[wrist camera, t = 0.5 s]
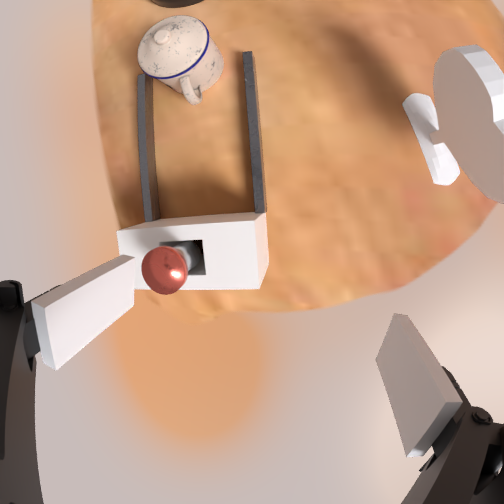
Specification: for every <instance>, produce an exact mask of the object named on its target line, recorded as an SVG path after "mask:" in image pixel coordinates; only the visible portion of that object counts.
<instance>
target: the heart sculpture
mask: <svg viewBox="0 0 504 504" xmlns="http://www.w3.org/2000/svg"><path fill="white" fill-rule="evenodd" d="M433 89H434V99H435V107H436V109H435V107H434V105H433V102H432V100H431V98H430V96H427V95H424V94H419V93H413V94H411V95H410V96H408V97H407V98H406V100H405V101H404V102H403V104H402V106H403V108H404V110H405V112H406V114H407V116H408V118H409V120H410V123H411V125H412V127H413V129H414V132H415V134H416V137H417V139H418V141H419V144H420V146H421V149H422V151H423V154H424V156H425V159H426V162H427V164H428V167H429V170H430V173H431V176H432V179H433V182H434V183H435V184H439V185H450V184H451V183H453V182H454V181H455V179H456V178H457V177H458V175H459V174H460V170H459V167H458V164H459V166H460V167H461V168H462V170H463V171H464V172H465V174H466V175H467V176H468V178H469V179H470V181H471V182H472V183H473V184H474V185H475V186H476V187H477V188H478V189H479V190H480V191H481V192H482V193H483V194H484V195H485V196H486V197H487V198H489V199H492V200H494V201H497V202H499V203H501V204H504V74H503V73H502V71H501V69H500V68H499V66H498V65H497V64H496V62H495V61H494V60H493V59H492V57H491V56H490V55H489V54H488V53H487V52H486V51H485V50H484V49H482V48H481V47H479V46H478V45H469V46H462V47H455V48H451V49H449V50H447V51H444V52H443V53H442V54H441V56H440V57H439V59H438V60H437V62H436V63H435V68H434V78H433ZM456 161H457V162H456ZM457 163H458V164H457Z"/></svg>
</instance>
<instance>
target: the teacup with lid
mask: <svg viewBox="0 0 504 504" xmlns="http://www.w3.org/2000/svg"><path fill="white" fill-rule="evenodd" d="M138 62H139V65H140V67H141V69H142V70H143V71H144V72H145V73H146V74H147V75H149V76H150V77H153V78H156V79H158V80H160V81H161V82H163V83H164V84H166V85H167V86H169V87H170V88H172V89H173V90H175V91H176V92H179V93H181V94H184V96H185V98H186V100H187V101H188V102H189V103H190V104H192V105H196V104H199V103H200V102H201V101H202V92H203V91H205V90H207V89H209V88H210V87H211V86H213V85H214V84H215V83H216V82H217V80H218V79H219V78H220V76H221V74H222V71H223V67H224V59H223V56H222V54H221V52H220V50H219V49H218V47H217V46H216V44H215V43H214V41H213V40H212V38H211V37H210V35H209V32H208V30H207V28H206V26H205V25H204V24H203V23H202V22H201V21H200V20H198V19H196V18H194V17H191V16H185V15H178V16H172V17H169V18H166V19H164V20H162V21H160V22H158V23H157V24H155V25H154V26H153V27H151V28H150V29H149V30H148V31H147V33H146V34H145V35H144V37H143V38H142V40H141V42H140V44H139V48H138Z"/></svg>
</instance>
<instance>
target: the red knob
mask: <svg viewBox="0 0 504 504" xmlns="http://www.w3.org/2000/svg"><path fill="white" fill-rule="evenodd" d="M200 259H201V251H200V248H199V247H198V245H197V244H195V243H194V242H191V241H184V242H182V243H180V244H178V245H176V246H174V247H170V246H159V247H157V248H155V249H152V250H151V251H149V252H148V253H147V254H146V255H145V256H144V258H143V261H142V265H141V271H142V276H143V278H144V281H145V282H146V284H147V285H148V286H149V287H150V288H151V289H152V290H153V291H155V292H157V293H159V294H164V295H168V294H172V293H174V292H176V291H177V290H179V289H180V288H181V287H182V286H183V285H184V284H185V282H186V280H187V277H188V271H190V270H191V269H192V268H193V267H195V266H196V265H197V264H198V263H199V262H200Z"/></svg>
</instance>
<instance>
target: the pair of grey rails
mask: <svg viewBox="0 0 504 504" xmlns="http://www.w3.org/2000/svg"><path fill="white" fill-rule="evenodd" d="M243 64H244V76H245V88H246V101H247V113H248V126H249V139H250V151H251V164H252V177H253V191H254V204H255V214H256V213H266V212H267V203H266V189H265V175H264V162H263V149H262V137H261V125H260V113H259V101H258V90H257V79H256V68H255V58H254V56H253V53H252V51H248V52H243ZM138 138H139V157H140V173H141V185H142V196H143V207H144V216H145V222H152V221H156V220H159V219H161V218H160V209H159V198H158V187H157V175H156V161H155V144H154V122H153V78H152V77H150V76H148V75H147V74H145V73H144V74H141V75H138Z"/></svg>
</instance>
